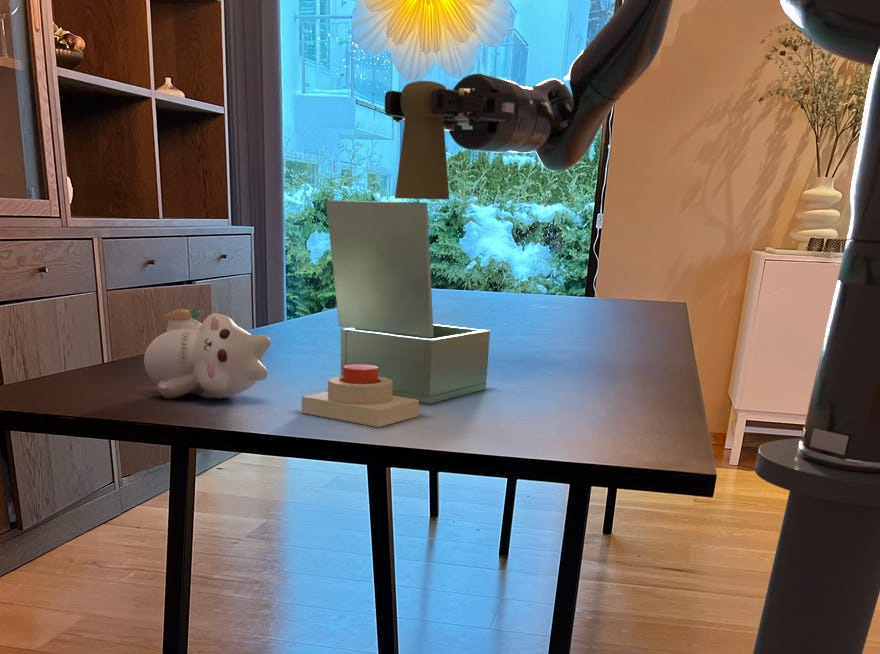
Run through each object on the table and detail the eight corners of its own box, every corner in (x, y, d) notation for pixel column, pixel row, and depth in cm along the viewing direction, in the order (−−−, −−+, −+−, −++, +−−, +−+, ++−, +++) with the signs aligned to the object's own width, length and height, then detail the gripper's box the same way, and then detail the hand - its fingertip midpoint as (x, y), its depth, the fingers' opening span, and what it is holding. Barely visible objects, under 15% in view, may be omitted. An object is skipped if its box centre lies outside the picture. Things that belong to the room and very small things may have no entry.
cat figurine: (131, 302, 97) (257, 293, 92) (171, 336, 105) (289, 328, 100) (122, 387, 96) (248, 381, 91) (162, 414, 104) (281, 410, 99)
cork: (460, 199, 99) (465, 82, 94) (424, 198, 95) (428, 76, 90) (419, 198, 102) (422, 86, 97) (383, 198, 98) (384, 80, 93)
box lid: (329, 199, 96) (325, 200, 95) (427, 202, 89) (424, 203, 89) (342, 325, 103) (338, 326, 103) (433, 336, 97) (430, 337, 96)
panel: (418, 416, 93) (419, 382, 92) (379, 427, 88) (379, 391, 87) (343, 403, 99) (343, 370, 97) (301, 412, 93) (301, 378, 92)
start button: (384, 384, 92) (385, 366, 92) (363, 388, 90) (364, 370, 89) (357, 380, 94) (357, 362, 94) (335, 384, 92) (335, 366, 91)
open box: (401, 376, 115) (403, 320, 112) (486, 389, 109) (490, 330, 106) (340, 389, 106) (340, 329, 103) (429, 404, 99) (432, 340, 97)
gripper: (442, 80, 107) (355, 62, 95) (550, 74, 100) (472, 54, 87) (439, 152, 110) (355, 143, 98) (544, 151, 103) (468, 142, 91)
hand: (411, 101), depth 93 cm, fingers closed on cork, 5 cm apart
